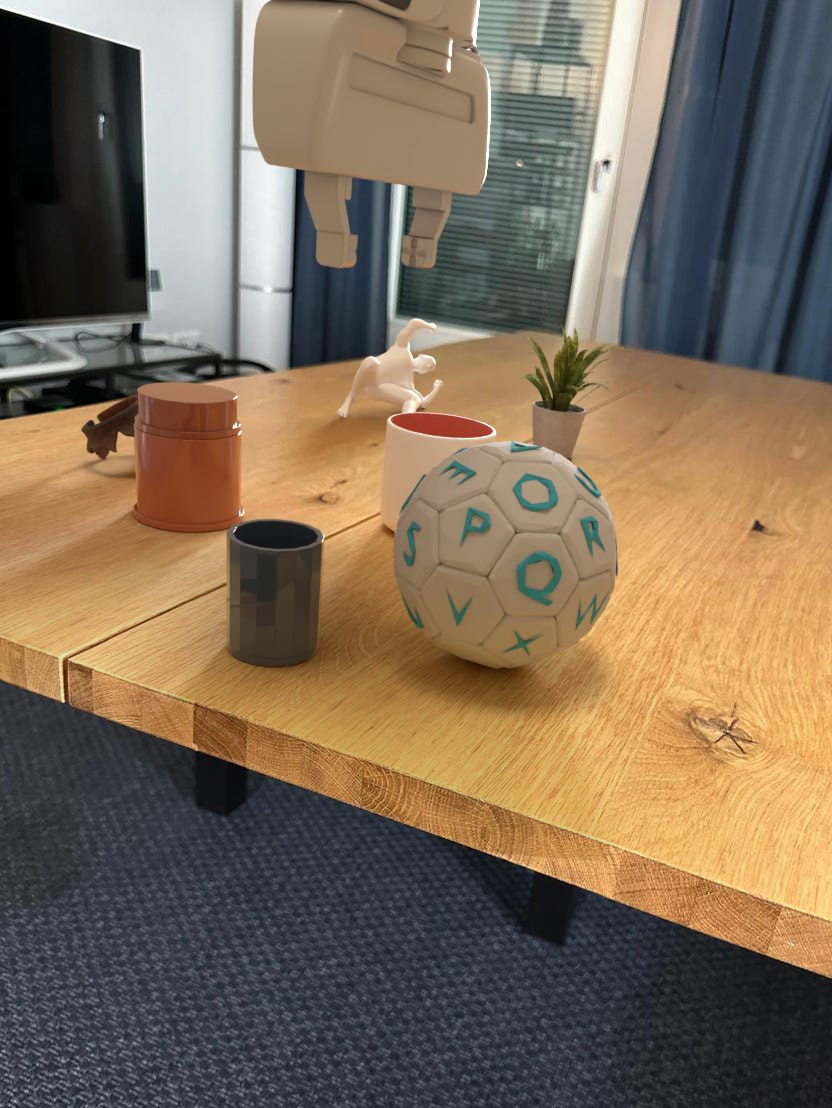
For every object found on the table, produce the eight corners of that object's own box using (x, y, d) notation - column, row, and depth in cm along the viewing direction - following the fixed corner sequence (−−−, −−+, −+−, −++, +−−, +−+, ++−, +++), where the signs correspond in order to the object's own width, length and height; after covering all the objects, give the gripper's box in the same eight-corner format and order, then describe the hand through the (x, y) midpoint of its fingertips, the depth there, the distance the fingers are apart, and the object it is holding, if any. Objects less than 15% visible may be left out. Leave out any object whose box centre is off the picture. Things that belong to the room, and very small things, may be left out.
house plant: (632, 473, 118) (657, 340, 111) (532, 471, 113) (553, 331, 106) (583, 444, 130) (603, 322, 123) (491, 440, 125) (507, 314, 118)
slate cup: (217, 662, 59) (217, 545, 56) (237, 623, 65) (238, 514, 62) (311, 671, 60) (316, 555, 57) (323, 632, 65) (329, 524, 62)
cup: (461, 555, 83) (473, 445, 79) (360, 531, 85) (368, 423, 81) (497, 527, 91) (510, 426, 87) (405, 505, 94) (414, 407, 90)
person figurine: (418, 347, 120) (434, 309, 135) (323, 356, 121) (349, 317, 136) (433, 442, 127) (446, 395, 142) (343, 449, 129) (366, 402, 144)
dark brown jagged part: (173, 490, 91) (124, 416, 87) (103, 513, 95) (53, 443, 91) (225, 436, 100) (183, 366, 96) (159, 459, 104) (116, 393, 100)
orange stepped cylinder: (118, 525, 79) (112, 396, 75) (151, 493, 88) (147, 376, 84) (231, 537, 80) (231, 409, 76) (253, 504, 89) (255, 388, 84)
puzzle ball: (344, 664, 61) (358, 440, 55) (442, 594, 74) (463, 406, 68) (557, 732, 56) (600, 496, 50) (623, 646, 69) (664, 448, 63)
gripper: (437, 32, 60) (418, 260, 66) (230, -62, 43) (228, 257, 49) (526, 38, 58) (497, 273, 64) (344, -59, 41) (328, 275, 47)
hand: (379, 266), depth 56 cm, fingers open, 8 cm apart
